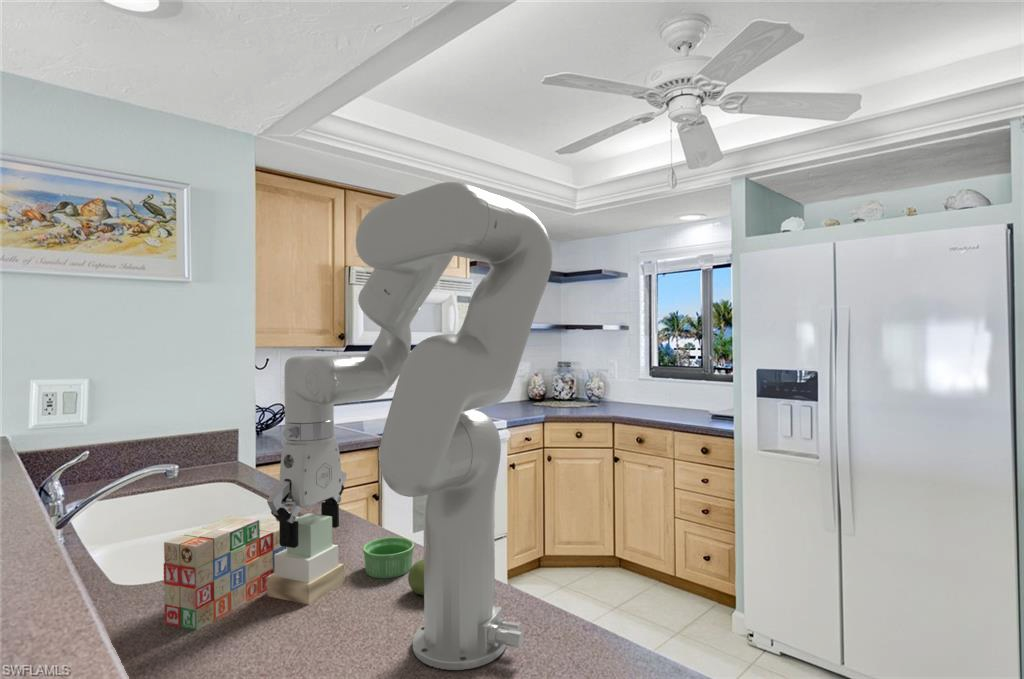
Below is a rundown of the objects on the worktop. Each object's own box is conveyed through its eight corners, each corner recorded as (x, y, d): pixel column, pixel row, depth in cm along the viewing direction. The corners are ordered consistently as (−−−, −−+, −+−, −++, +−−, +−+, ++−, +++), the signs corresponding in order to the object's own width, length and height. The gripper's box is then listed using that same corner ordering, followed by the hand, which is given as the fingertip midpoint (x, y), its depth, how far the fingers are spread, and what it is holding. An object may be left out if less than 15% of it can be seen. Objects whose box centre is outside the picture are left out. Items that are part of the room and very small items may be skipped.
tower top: (338, 566, 95) (338, 545, 95) (308, 583, 88) (308, 560, 88) (305, 560, 98) (305, 540, 98) (274, 576, 91) (274, 554, 91)
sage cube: (332, 546, 94) (332, 516, 94) (311, 557, 90) (310, 525, 90) (308, 542, 96) (308, 513, 96) (286, 552, 92) (286, 522, 92)
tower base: (344, 584, 96) (343, 564, 96) (309, 607, 88) (308, 584, 88) (304, 577, 99) (304, 557, 99) (266, 598, 91) (266, 576, 91)
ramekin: (398, 583, 95) (397, 557, 95) (352, 576, 98) (352, 551, 98) (423, 563, 104) (423, 539, 104) (380, 557, 107) (380, 534, 107)
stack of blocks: (271, 568, 102) (270, 500, 102) (299, 572, 100) (298, 503, 100) (163, 625, 82) (162, 540, 82) (196, 632, 80) (195, 545, 80)
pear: (426, 550, 95) (473, 572, 90) (422, 580, 96) (469, 604, 90) (403, 561, 90) (452, 585, 85) (399, 592, 91) (447, 618, 86)
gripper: (289, 442, 83) (290, 558, 83) (361, 424, 99) (361, 522, 99) (250, 439, 85) (251, 552, 86) (326, 422, 102) (326, 517, 102)
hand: (310, 535), depth 92 cm, fingers open, 9 cm apart
